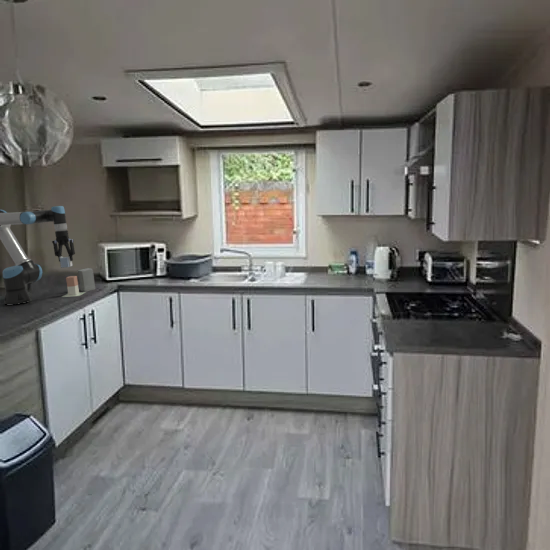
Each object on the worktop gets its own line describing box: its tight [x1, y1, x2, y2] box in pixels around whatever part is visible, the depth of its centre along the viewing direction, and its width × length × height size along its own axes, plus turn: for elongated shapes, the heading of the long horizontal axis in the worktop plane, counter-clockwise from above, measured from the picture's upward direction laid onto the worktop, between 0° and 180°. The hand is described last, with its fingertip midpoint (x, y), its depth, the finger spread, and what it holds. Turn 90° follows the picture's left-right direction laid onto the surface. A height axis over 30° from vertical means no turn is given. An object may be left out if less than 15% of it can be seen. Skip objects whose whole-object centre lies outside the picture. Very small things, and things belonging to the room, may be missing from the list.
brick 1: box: [59, 256, 72, 268], centre depth 312 cm, size 5×5×6 cm
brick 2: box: [65, 275, 79, 288], centre depth 319 cm, size 5×5×6 cm
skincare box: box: [76, 267, 96, 292], centre depth 332 cm, size 8×7×16 cm
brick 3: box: [66, 284, 80, 295], centre depth 320 cm, size 5×5×6 cm
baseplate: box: [61, 291, 87, 298], centre depth 321 cm, size 12×12×1 cm
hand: (66, 266), depth 313 cm, fingers closed on brick 1, 5 cm apart
